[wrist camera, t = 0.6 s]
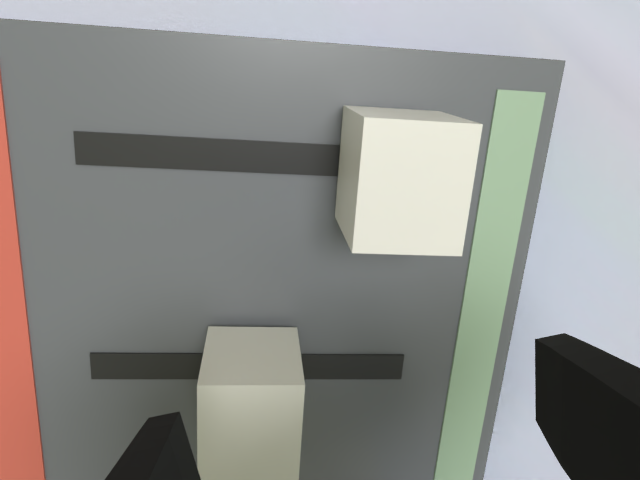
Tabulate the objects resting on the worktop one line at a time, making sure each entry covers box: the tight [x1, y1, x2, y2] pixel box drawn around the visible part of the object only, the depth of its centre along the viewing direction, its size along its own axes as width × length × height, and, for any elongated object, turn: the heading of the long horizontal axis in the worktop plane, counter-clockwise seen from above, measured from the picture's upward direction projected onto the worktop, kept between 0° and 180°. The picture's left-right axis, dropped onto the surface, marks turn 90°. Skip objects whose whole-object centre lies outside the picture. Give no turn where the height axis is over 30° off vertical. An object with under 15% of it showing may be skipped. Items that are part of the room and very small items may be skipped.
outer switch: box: [335, 105, 483, 256], centre depth 16 cm, size 4×3×4 cm
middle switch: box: [197, 326, 305, 480], centre depth 17 cm, size 4×3×4 cm
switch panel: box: [0, 18, 565, 480], centre depth 20 cm, size 22×19×2 cm
